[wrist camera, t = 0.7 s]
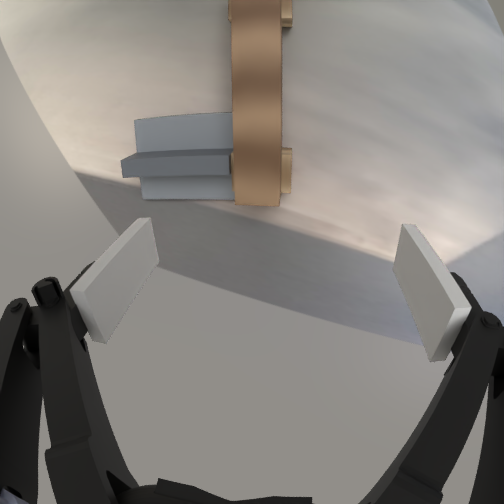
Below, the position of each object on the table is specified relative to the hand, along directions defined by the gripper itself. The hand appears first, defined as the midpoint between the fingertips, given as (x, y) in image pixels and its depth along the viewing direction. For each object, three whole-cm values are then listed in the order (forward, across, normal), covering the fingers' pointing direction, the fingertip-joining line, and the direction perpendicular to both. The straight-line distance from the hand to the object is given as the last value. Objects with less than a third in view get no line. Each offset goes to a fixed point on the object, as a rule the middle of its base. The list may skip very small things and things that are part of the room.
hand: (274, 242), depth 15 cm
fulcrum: (+20, -11, 0) cm, 23 cm away
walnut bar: (+16, -2, +8) cm, 18 cm away
